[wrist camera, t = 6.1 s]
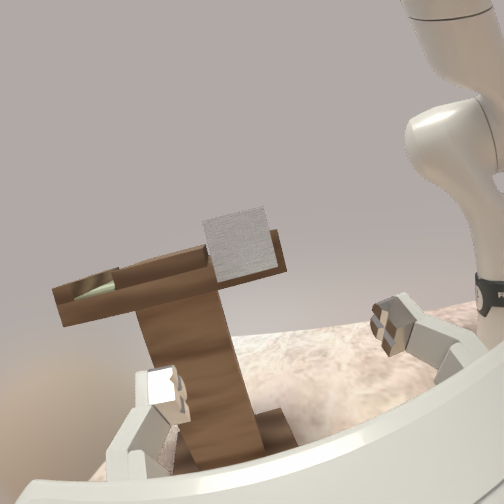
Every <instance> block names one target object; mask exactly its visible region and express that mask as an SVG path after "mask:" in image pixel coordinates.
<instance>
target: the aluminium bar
mask: <svg viewBox="0 0 504 504" xmlns="http://www.w3.org/2000/svg"><path fill="white" fill-rule="evenodd" d="M202 223H203V227H204V231H205V235H206V239H207V243H208V247H209V251H210V255H211V259H212V263H213V267H214V270H215V274H216V278H217V282H218V283H219V282H222V281H226V280H230V279H234V278H238V277H241V276H245V275H249V274H253V273H256V272H260V271H264V270H268V269H271V268H275V267H278V264H277V260H276V256H275V252H274V247H273V243H272V239H271V235H270V231H269V227H268V223H267V219H266V215H265V211H264V207H263V206H261V207H258V208H253V209H249V210H245V211H241V212H237V213H233V214H228V215H225V216H220V217H216V218H212V219H208V220H204V221H202Z"/></svg>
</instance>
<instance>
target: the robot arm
mask: <svg viewBox="0 0 504 504" xmlns="http://www.w3.org/2000/svg"><path fill="white" fill-rule="evenodd" d="M400 1H401V4H402V6H403V8H404V10H405V12H406V14H407V16H408V18H409V20H410V22H411V24H412V27H413V29H414V31H415V33H416V35H417V38H418V40H419V43H420V45H421V47H422V50H423V52H424V55H425V57H426V60H427V62H428V64H429V65H430V67H431V68H432V70H433V71H434V72H435V73H436V74H437V75H438V76H439V77H441V78H442V79H444V80H445V81H447V82H449V83H451V84H453V85H455V86H458V87H461V88H464V89H468V90H471V91H475V92H478V93H479V95H478V96H477V97H474V98H472V99H468V100H463V101H459V102H454V103H450V104H446V105H441V106H437V107H434V108H432V109H430V110H428V111H425V112H423V113H421V114H419V115H417V116H415V117H414V118H412V119H410V120H409V122H408V124H407V127H406V130H405V136H404V144H405V151H406V154H407V157H408V159H409V162H410V163H411V165H412V166H413V168H414V169H415V170H416V172H417V173H418V174H419V175H420V176H421V177H423V178H424V179H425V180H427V181H429V182H431V183H433V184H435V185H436V186H438V187H440V188H441V189H442V190H444V191H445V192H446V193H447V194H449V195H450V196H451V197H452V198H453V199H454V201H455V202H456V203H457V204H458V205H459V207H460V209H461V210H462V212H463V214H464V216H465V217H466V220H467V222H468V225H469V228H470V232H471V236H472V240H473V245H474V250H475V257H476V265H477V272H476V274H475V284H476V285H475V295H476V306H477V310H478V323H477V331H476V335H475V333H474V332H472V331H470V330H467V329H464V328H462V327H459V326H457V325H454V324H452V323H449V322H446V321H444V320H441V319H439V318H436V317H433V316H431V315H428V316H427V315H426V314H425V313H424V312H423V311H422V310H421V309H420V307H419V306H418V305H417V304H416V303H415V302H414V301H413V299H412V298H411V297H410V296H409V295H408V294H407V293H405V292H403V293H401V294H398V295H396V296H392V297H390V298H388V299H385V300H383V301H380V302H378V303H375V304H374V305H373V308H372V311H373V313H374V315H373V316H372V317H371V321H370V325H371V330H372V332H373V334H374V336H375V337H376V339H378V340H381V341H382V345H381V346H382V348H383V349H384V351H385V352H386V354H387V355H388V357H391V356H393V355H396V354H398V353H400V352H403V351H405V350H406V352H408V353H410V354H411V355H413V356H415V357H417V358H418V359H420V360H422V361H424V362H425V363H427V364H429V365H431V366H433V367H434V368H436V369H438V370H439V371H438V372H437V374H436V376H435V378H434V383H435V384H436V386H434V387H432V388H431V389H429V390H427V391H425V392H423V393H422V394H420V395H418V396H416V397H414V398H412V399H411V400H409V401H407V402H405V403H403V404H401V405H399V406H397V407H395V408H393V409H391V410H389V411H387V412H385V413H382V414H380V415H378V416H376V417H374V418H372V419H369V420H367V421H365V422H363V423H360V424H358V425H356V426H353V427H351V428H348V429H346V430H343V431H341V432H338V433H336V434H333V435H331V436H328V437H325V438H322V439H320V440H317V441H314V442H311V443H308V444H305V445H302V446H299V447H296V448H293V449H290V450H287V451H284V452H280V453H277V454H273V455H270V456H266V457H263V458H259V459H255V460H251V461H247V462H243V463H239V464H235V465H230V466H226V467H221V468H216V469H211V470H206V471H200V472H194V473H188V474H182V475H175V476H170V475H169V471H168V470H167V469H165V468H164V467H163V466H161V465H160V464H159V463H157V459H158V457H159V455H160V452H161V450H162V447H163V445H164V443H165V440H166V438H167V435H168V433H169V431H170V428H171V426H172V425H176V424H181V423H186V422H190V421H191V419H190V413H189V407H188V405H187V404H186V402H185V401H186V399H187V393H186V388H185V385H184V382H183V380H182V378H181V376H179V375H177V369H176V368H175V366H174V365H170V366H165V367H160V368H154V369H149V370H144V371H138V372H136V375H135V404H136V408H132V410H131V411H130V413H129V415H128V416H127V418H126V419H125V421H124V423H123V424H122V426H121V428H120V429H119V431H118V433H117V434H116V436H115V438H114V439H113V441H112V443H111V444H110V446H109V448H108V449H107V451H106V476H107V481H92V482H84V481H52V480H41V479H38V480H33V481H31V482H30V483H29V484H28V485H27V487H26V488H25V489H24V491H23V492H22V493H21V495H20V497H19V498H18V499H17V501H16V503H15V504H504V193H501V192H500V191H499V190H498V189H497V187H496V185H495V183H494V180H493V177H492V176H493V175H494V174H496V173H500V172H504V38H503V35H502V32H501V29H500V25H499V22H498V19H497V17H496V13H495V11H494V7H493V5H492V2H491V0H400Z"/></svg>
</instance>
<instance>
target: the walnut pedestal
mask: <svg viewBox="0 0 504 504" xmlns="http://www.w3.org/2000/svg"><path fill="white" fill-rule="evenodd" d="M269 231H270V235H271V239H272V243H273V247H274V252H275V256H276V260H277V264H278V267H275V268H271V269H268V270H264V271H260V272H256V273H253V274H249V275H245V276H241V277H238V278H234V279H230V280H226V281H222V282H219V283H218V282H217V278H216V274H215V270H214V267H213V263H212V259H211V255H208V252H207V248H206V245H205V244H204V245H200V246H196V247H193V248H189V249H185V250H181V251H177V252H174V253H170V254H166V255H162V256H159V257H155V258H151V259H147V260H145V261H142V262H139V263H137V264H134V265H130V266H128V267H125V268H122V269H119V267H117V268H114V269H110V270H106V271H103V272H100V273H97V274H94V275H92V276H88V277H85V278H82V279H79V280H76V281H74V282H71V283H67V284H64V285H62V286H59V287H56V288H53V289H52V291H53V295H54V298H55V302H56V305H57V308H58V311H59V315H60V318H61V321H62V324H63V327H67V326H72V325H76V324H81V323H85V322H89V321H94V320H98V319H103V318H107V317H111V316H115V315H119V314H124V313H128V312H132V311H135V312H136V315H137V318H138V321H139V325H140V328H141V330H142V334H143V337H144V340H145V343H146V345H147V348H148V351H149V354H150V357H151V360H152V362H153V365H154V368H160V367H165V366H170V365H174V366H175V368H176V369H177V375H179V376H181V378H182V380H183V382H184V385H185V388H186V393H187V399H186V401H185V402H186V404H187V405H188V407H189V413H190V419H191V421H190V422H186V423H181V424H177V425H178V427H179V429H180V431H181V432H178V437H177V445H176V453H175V462H174V470H173V476H175V475H182V474H188V473H194V472H200V471H206V470H211V469H216V468H221V467H226V466H230V465H235V464H239V463H243V462H247V461H251V460H255V459H259V458H263V457H266V456H270V455H273V454H277V453H280V452H284V451H287V450H290V449H293V448H296V447H298V445H297V443H296V441H295V438H294V436H293V434H292V432H291V430H290V427H289V425H288V423H287V421H286V418H285V416H284V414H283V412H282V409H281V408H278V409H274V410H271V411H267V412H264V413H260V414H257V415H254V413H253V409H252V406H251V403H250V400H249V397H248V393H247V390H246V387H245V384H244V380H243V377H242V374H241V370H240V367H239V364H238V360H237V357H236V353H235V350H234V346H233V343H232V340H231V336H230V333H229V329H228V326H227V322H226V318H225V315H224V311H223V308H222V304H221V301H220V297H219V293H218V290H220V289H224V288H228V287H231V286H235V285H239V284H243V283H246V282H250V281H254V280H257V279H261V278H265V277H268V276H272V275H276V274H280V273H283V272H287V269H286V265H285V261H284V257H283V252H282V248H281V244H280V240H279V236H278V232H277V229H276V230H269Z"/></svg>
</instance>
